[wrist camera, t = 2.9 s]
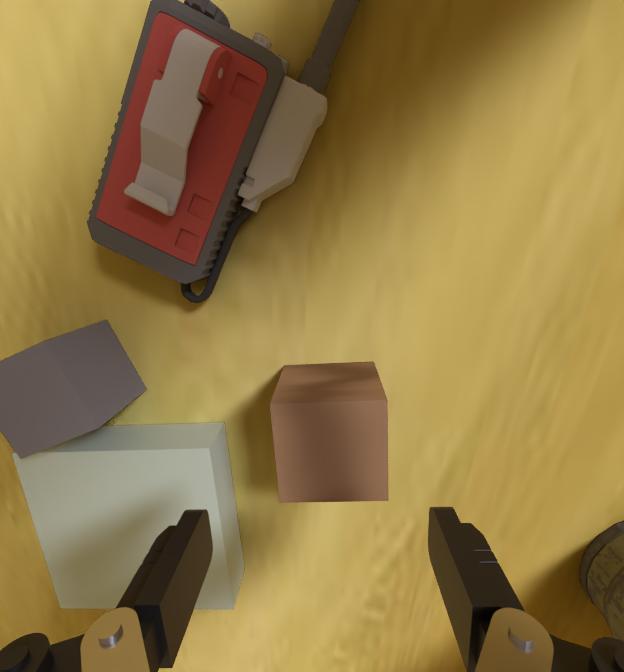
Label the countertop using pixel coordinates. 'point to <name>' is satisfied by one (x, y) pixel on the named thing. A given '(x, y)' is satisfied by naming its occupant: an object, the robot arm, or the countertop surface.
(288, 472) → the walnut cube
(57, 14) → the countertop surface
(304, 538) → the countertop surface
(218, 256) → the walkie-talkie
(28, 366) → the charcoal block
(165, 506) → the pedestal
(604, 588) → the thermos
